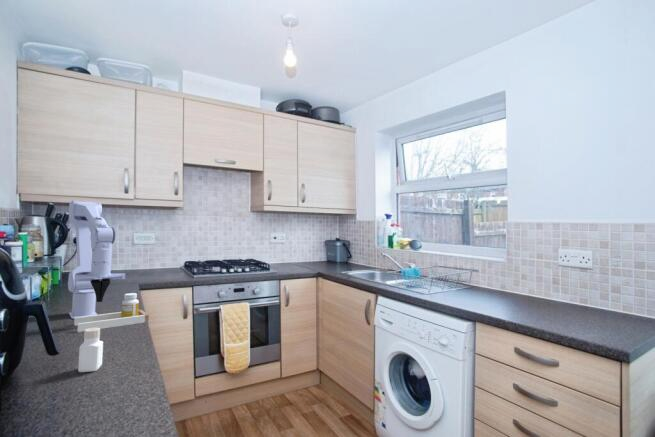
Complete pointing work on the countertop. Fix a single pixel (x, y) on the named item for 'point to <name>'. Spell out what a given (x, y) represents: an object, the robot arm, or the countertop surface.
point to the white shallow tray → (108, 320)
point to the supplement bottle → (130, 305)
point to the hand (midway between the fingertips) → (99, 301)
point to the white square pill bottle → (90, 351)
